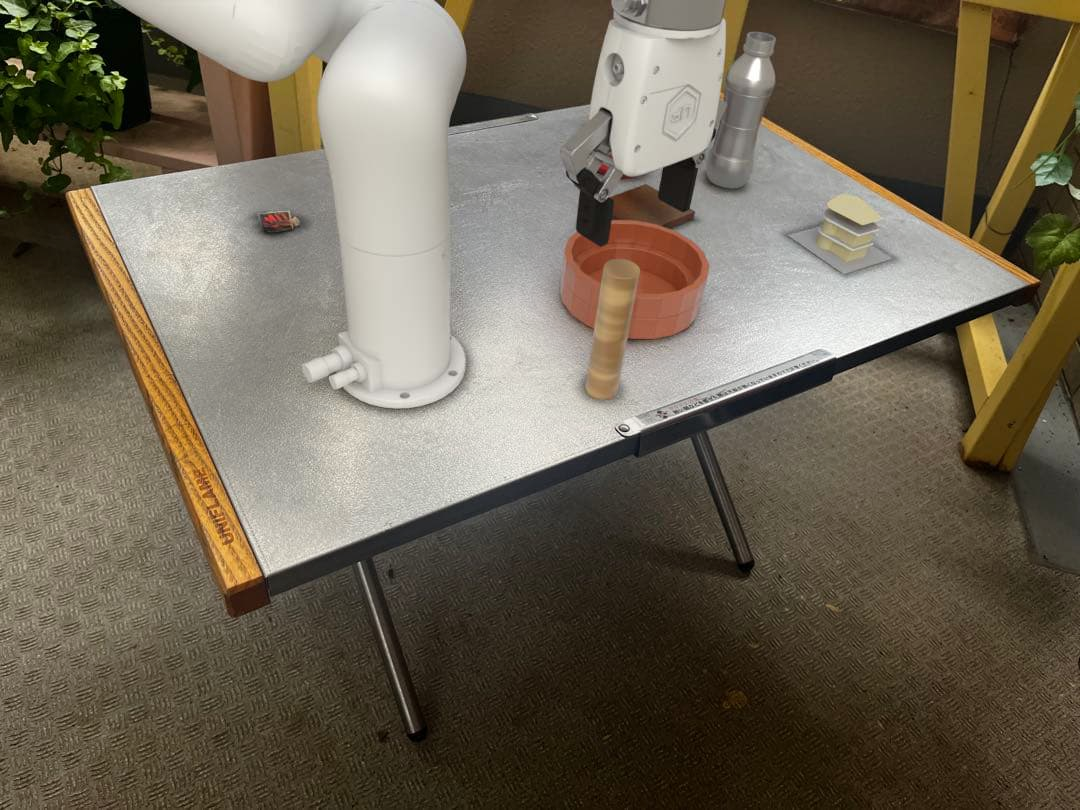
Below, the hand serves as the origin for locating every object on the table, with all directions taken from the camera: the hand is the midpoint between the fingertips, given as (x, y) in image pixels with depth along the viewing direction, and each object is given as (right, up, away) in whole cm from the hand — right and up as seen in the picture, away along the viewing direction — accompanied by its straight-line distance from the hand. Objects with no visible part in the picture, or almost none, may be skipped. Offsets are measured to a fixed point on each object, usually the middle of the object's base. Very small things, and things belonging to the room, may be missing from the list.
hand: (633, 221), depth 67 cm
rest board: (+6, +10, +39) cm, 41 cm away
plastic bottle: (+19, +16, +48) cm, 54 cm away
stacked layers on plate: (+31, +5, +37) cm, 49 cm away
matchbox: (-39, +7, +30) cm, 50 cm away
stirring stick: (-2, -14, +12) cm, 19 cm away
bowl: (+2, -4, +24) cm, 24 cm away
